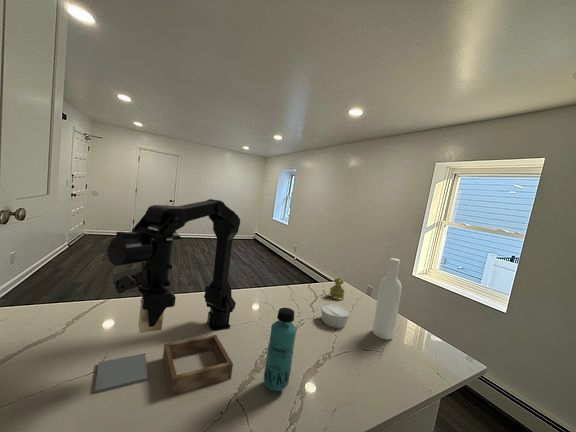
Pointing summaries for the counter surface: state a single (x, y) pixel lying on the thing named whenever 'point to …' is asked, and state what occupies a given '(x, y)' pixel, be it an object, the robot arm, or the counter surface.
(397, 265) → the bottle
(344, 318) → the ramekin
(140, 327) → the maple block
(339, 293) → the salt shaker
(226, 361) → the box
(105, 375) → the pad
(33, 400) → the counter surface
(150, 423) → the counter surface
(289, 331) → the beverage bottle
